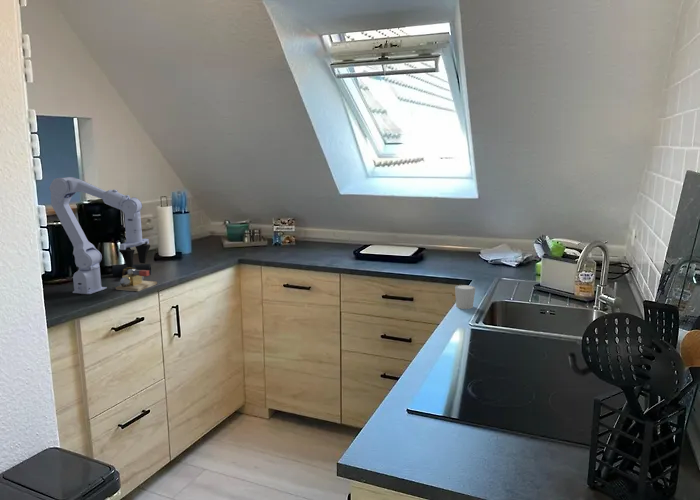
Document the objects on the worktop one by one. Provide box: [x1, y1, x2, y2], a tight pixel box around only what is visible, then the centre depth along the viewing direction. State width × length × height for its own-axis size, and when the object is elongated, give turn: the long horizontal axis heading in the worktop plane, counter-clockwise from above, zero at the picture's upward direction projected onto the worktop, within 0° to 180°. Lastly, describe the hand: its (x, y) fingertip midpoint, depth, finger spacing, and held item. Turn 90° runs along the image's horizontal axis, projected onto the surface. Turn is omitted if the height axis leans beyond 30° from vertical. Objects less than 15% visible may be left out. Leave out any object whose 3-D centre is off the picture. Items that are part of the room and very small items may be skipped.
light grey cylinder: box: [454, 284, 476, 310], centre depth 186 cm, size 7×7×7 cm
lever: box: [128, 269, 150, 277], centre depth 214 cm, size 9×3×2 cm, turn 73°
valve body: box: [119, 275, 145, 287], centre depth 215 cm, size 10×5×4 cm, turn 163°
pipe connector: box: [111, 263, 152, 278], centre depth 231 cm, size 12×5×15 cm
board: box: [115, 280, 158, 292], centre depth 215 cm, size 12×10×1 cm
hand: (136, 265), depth 208 cm, fingers open, 7 cm apart
